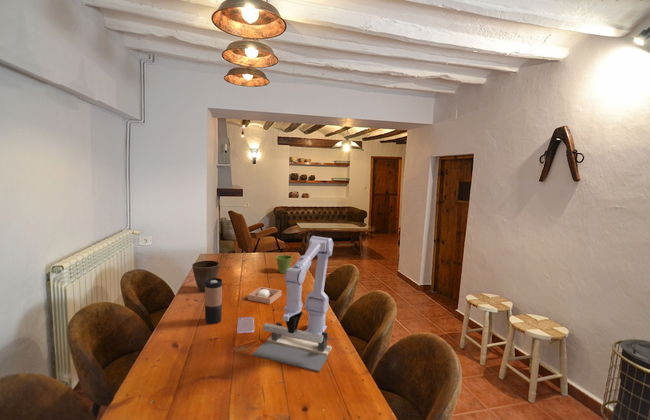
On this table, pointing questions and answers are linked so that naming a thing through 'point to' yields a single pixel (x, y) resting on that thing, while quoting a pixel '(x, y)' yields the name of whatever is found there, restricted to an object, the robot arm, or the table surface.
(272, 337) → the hook stand
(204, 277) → the plant pot
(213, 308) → the travel mug
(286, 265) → the plant pot
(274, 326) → the rail
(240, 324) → the mobile phone
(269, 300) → the garlic dish
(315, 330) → the robot arm
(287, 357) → the mat
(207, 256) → the table surface
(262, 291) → the garlic
